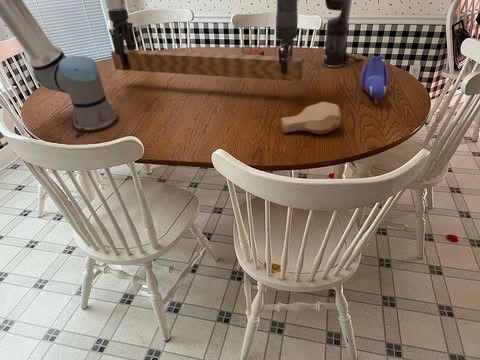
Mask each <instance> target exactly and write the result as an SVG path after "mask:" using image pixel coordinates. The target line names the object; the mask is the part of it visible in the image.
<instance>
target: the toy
mask: <svg viewBox="0 0 480 360" xmlns="http://www.w3.org/2000/svg"><path fill="white" fill-rule="evenodd" d="M384 58H385V56H384V55H380V54H379V55H377V56H376V55H372V56H371V57H370V60H369V61H368V60H366V61H365V62H364V64H363V66H362V69H361V71H360V77H359V84H360V86H361V88H363V91H365V92H366V93H367V94H368V95H369V96H370V97H371V98H372V99H374V105H377V104H378V100H380V99H381V98H382V97H384V96H385V95H386V94H387V85H388V82H389V81H388V80H389V71H388V66H387V63H386V60H384Z"/></svg>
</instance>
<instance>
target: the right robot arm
mask: <svg viewBox="0 0 480 360" xmlns="http://www.w3.org/2000/svg"><path fill="white" fill-rule="evenodd" d="M324 2H325V7H326V9H327V10H330V11H340V13H339V15H337V16H335V17H332V18H331V17H330V18H329V19H327V22H326V31H325V32H326V33H325V45H324V53H323V66H324V67H327V68H340V67H343V66H344V65H345V64H346V62H349V59H353V60H354V61H356V62H361V61H363V60H364V59H363V58H356V57H354V56H350V54H348V53H347V51H348V50H347V49H348V43H347V36H348V29H349V28H348V27H349V21H350V15H351V9H352V3H353V0H324ZM275 14H276V15H275V38H276V39H277V40H280V41H281V42H280V44H279V48H278V56H279V64H281V73H282V74H287V63H288V57H293V50H294V39H296V38H297V37H298V22H299V21H298V17H299V16H298V0H276V13H275ZM283 58H284V60H283Z"/></svg>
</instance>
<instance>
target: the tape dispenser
mask: <svg viewBox="0 0 480 360" xmlns="http://www.w3.org/2000/svg"><path fill="white" fill-rule="evenodd" d="M251 52H252V53H251ZM237 54H238V55H261V56H265V51H264V49H263V48H255V49H248V50H247V49H246V50H242V51H241V50H239V51H237Z"/></svg>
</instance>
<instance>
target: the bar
mask: <svg viewBox="0 0 480 360" xmlns="http://www.w3.org/2000/svg"><path fill="white" fill-rule="evenodd" d="M124 49H125V54H127V59H128V63H129V68H130V69H129V70H128V71H133V72H146V73H147V72H149V73H161V74H163V73H164V74H176V75H177V74H178V75H194V76H208V77H210V76H211V77H226V78H243V79H257V80H273V81H285V82H286V81H288V82H301V81H302V79H303V75H304V57H303V56H301V57H300V56H292V57H288V63H287V74H282V73H281V64H279V55H264V56H261V55H238V53H237V54H235V53H217V52H216V53H213V52H192V51H188V52H187V51H170V50H145V49H135V50H129V49H126V48H124ZM110 54H111V58H112V62H113V66H114V68H115V71H127V70H126V69H123V65H122V62H121V58H120V55H119V54H116V53H115V49H114V50H113V51H111V52H110ZM283 60H284V58H283Z"/></svg>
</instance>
